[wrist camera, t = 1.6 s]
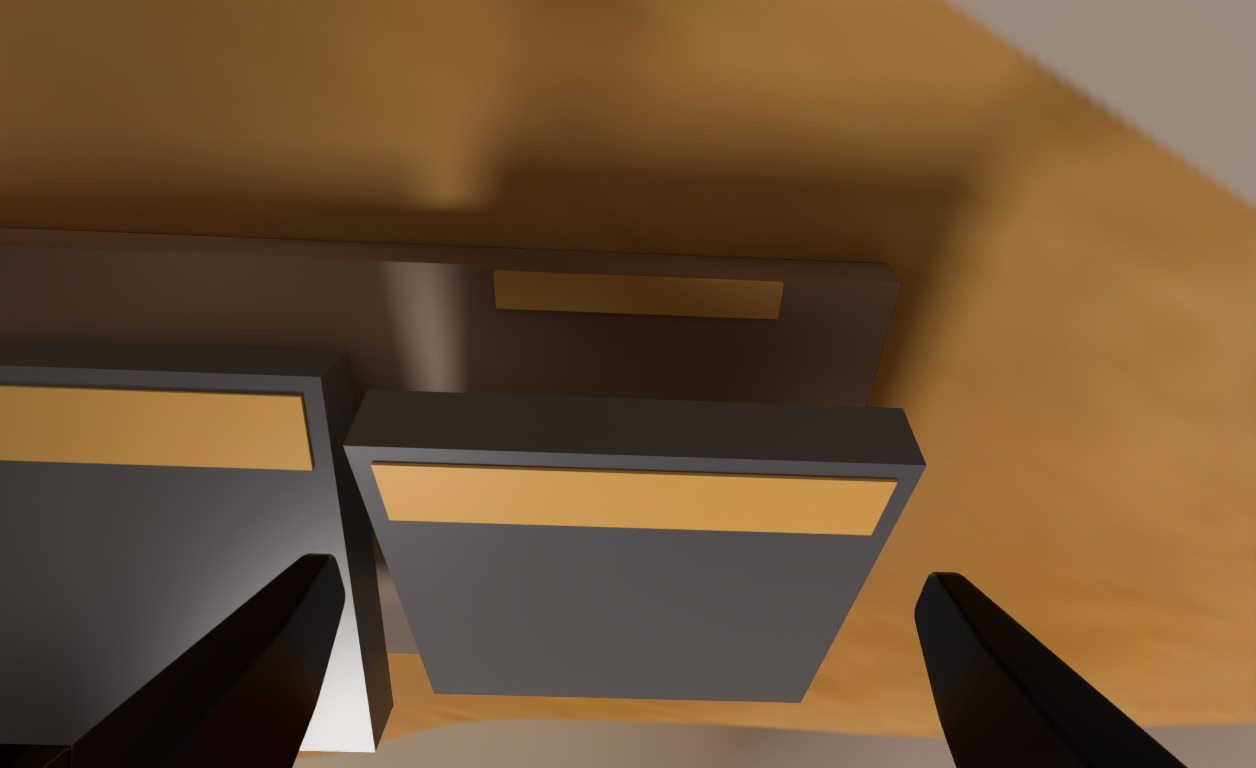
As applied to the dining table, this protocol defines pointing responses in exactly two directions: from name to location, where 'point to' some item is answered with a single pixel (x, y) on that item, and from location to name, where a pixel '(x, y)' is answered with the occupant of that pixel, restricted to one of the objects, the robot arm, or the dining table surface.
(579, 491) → the rocker outer
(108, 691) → the block
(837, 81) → the dining table surface
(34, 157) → the dining table surface
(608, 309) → the switch unit
